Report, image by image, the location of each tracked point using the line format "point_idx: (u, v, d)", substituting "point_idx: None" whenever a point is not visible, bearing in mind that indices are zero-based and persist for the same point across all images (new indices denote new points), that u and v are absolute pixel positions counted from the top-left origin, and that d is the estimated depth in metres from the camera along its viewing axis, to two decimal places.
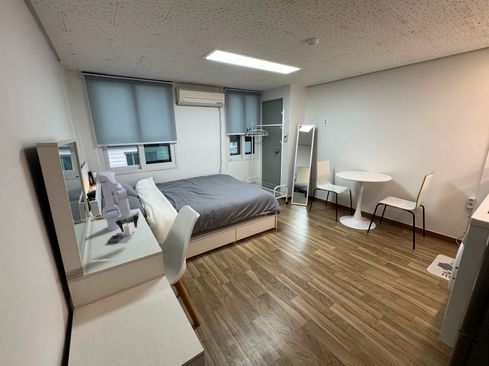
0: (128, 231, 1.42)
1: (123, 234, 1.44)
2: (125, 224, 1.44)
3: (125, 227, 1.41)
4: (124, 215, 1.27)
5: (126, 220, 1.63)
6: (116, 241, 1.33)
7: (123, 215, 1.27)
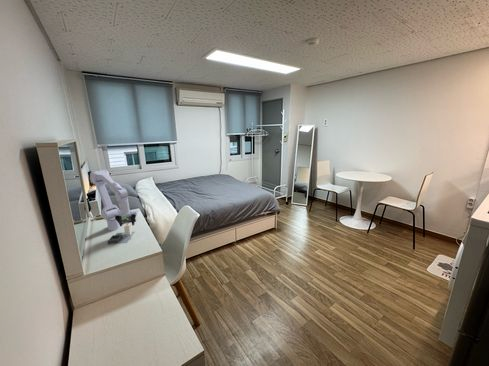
0: (128, 231, 1.42)
1: (123, 234, 1.44)
2: (125, 224, 1.44)
3: (125, 227, 1.41)
4: (121, 213, 1.38)
5: (126, 220, 1.63)
6: (116, 241, 1.33)
7: (120, 212, 1.38)
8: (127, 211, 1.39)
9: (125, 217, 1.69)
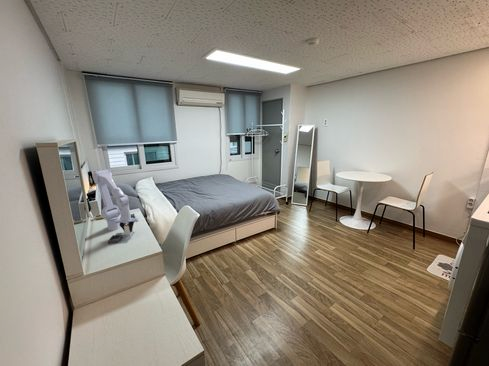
0: (128, 231, 1.42)
1: (123, 234, 1.44)
2: (125, 224, 1.44)
3: (125, 227, 1.41)
4: (122, 220, 1.39)
5: None
6: (116, 241, 1.33)
7: (121, 219, 1.40)
8: (128, 218, 1.40)
9: None
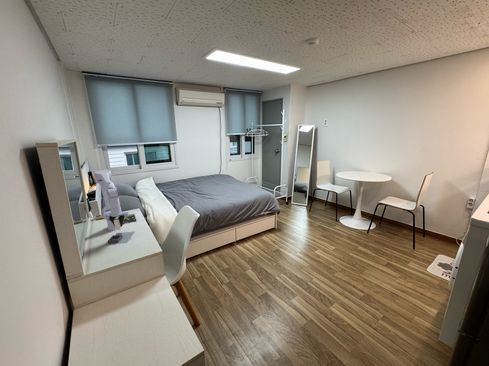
0: (118, 225, 1.35)
1: (123, 234, 1.44)
2: (115, 218, 1.37)
3: (115, 221, 1.34)
4: (111, 213, 1.32)
5: (127, 220, 1.64)
6: (116, 241, 1.33)
7: (111, 213, 1.33)
8: (118, 211, 1.33)
9: (125, 217, 1.69)
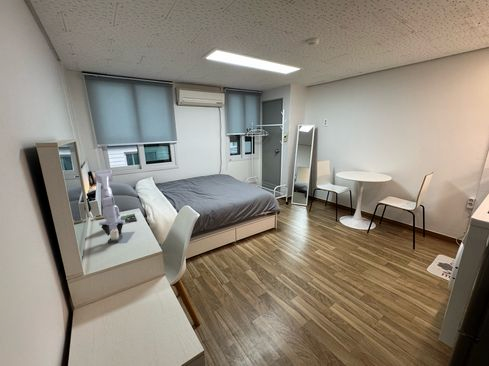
0: (114, 237, 1.34)
1: (123, 234, 1.44)
2: None
3: (111, 233, 1.33)
4: (107, 221, 1.31)
5: (127, 220, 1.64)
6: (116, 241, 1.33)
7: (106, 221, 1.31)
8: (114, 220, 1.32)
9: (126, 217, 1.69)
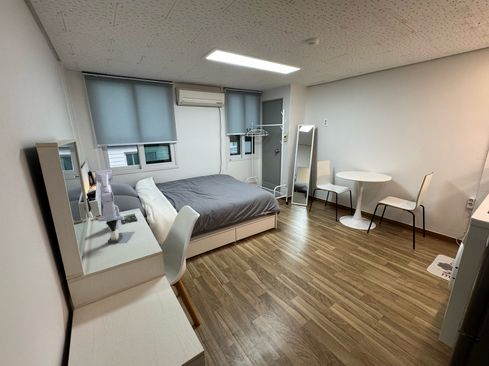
0: (114, 237, 1.34)
1: (123, 234, 1.44)
2: None
3: (111, 233, 1.33)
4: (106, 218, 1.30)
5: (128, 220, 1.64)
6: (116, 241, 1.33)
7: (106, 217, 1.30)
8: (113, 216, 1.31)
9: (126, 217, 1.69)
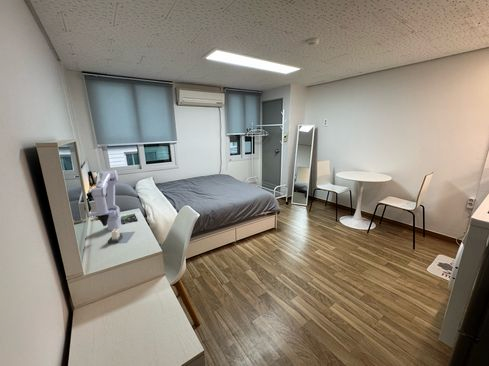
0: (115, 237, 1.34)
1: (123, 234, 1.44)
2: None
3: (113, 233, 1.33)
4: (97, 212, 1.32)
5: (128, 220, 1.64)
6: (116, 241, 1.33)
7: (97, 212, 1.33)
8: (104, 210, 1.33)
9: (126, 217, 1.69)
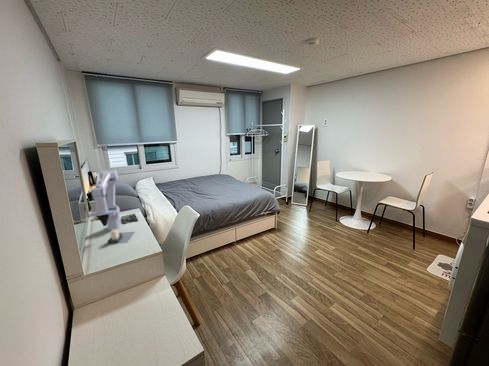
0: (115, 237, 1.34)
1: (123, 234, 1.44)
2: (112, 230, 1.36)
3: (111, 233, 1.33)
4: (97, 212, 1.32)
5: (128, 220, 1.64)
6: (116, 241, 1.33)
7: (97, 212, 1.33)
8: (104, 210, 1.33)
9: (126, 217, 1.69)
